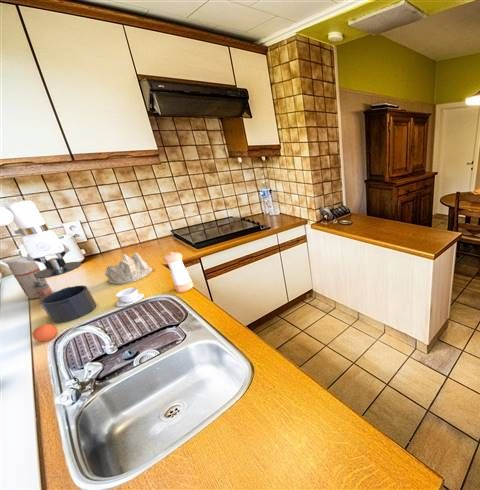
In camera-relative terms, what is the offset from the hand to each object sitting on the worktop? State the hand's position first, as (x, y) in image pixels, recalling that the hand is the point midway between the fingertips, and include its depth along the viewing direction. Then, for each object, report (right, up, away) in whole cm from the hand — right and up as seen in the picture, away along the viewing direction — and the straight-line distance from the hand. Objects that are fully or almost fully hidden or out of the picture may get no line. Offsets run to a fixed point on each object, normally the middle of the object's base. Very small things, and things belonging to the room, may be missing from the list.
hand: (57, 267), depth 119 cm
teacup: (+31, -15, +2) cm, 35 cm away
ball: (+20, -22, -21) cm, 36 cm away
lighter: (-13, -16, +7) cm, 21 cm away
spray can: (-21, -15, +11) cm, 28 cm away
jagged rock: (+12, -7, +24) cm, 28 cm away
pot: (+13, -19, -5) cm, 24 cm away
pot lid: (0, -1, 0) cm, 1 cm away
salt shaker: (+51, -11, +10) cm, 53 cm away
